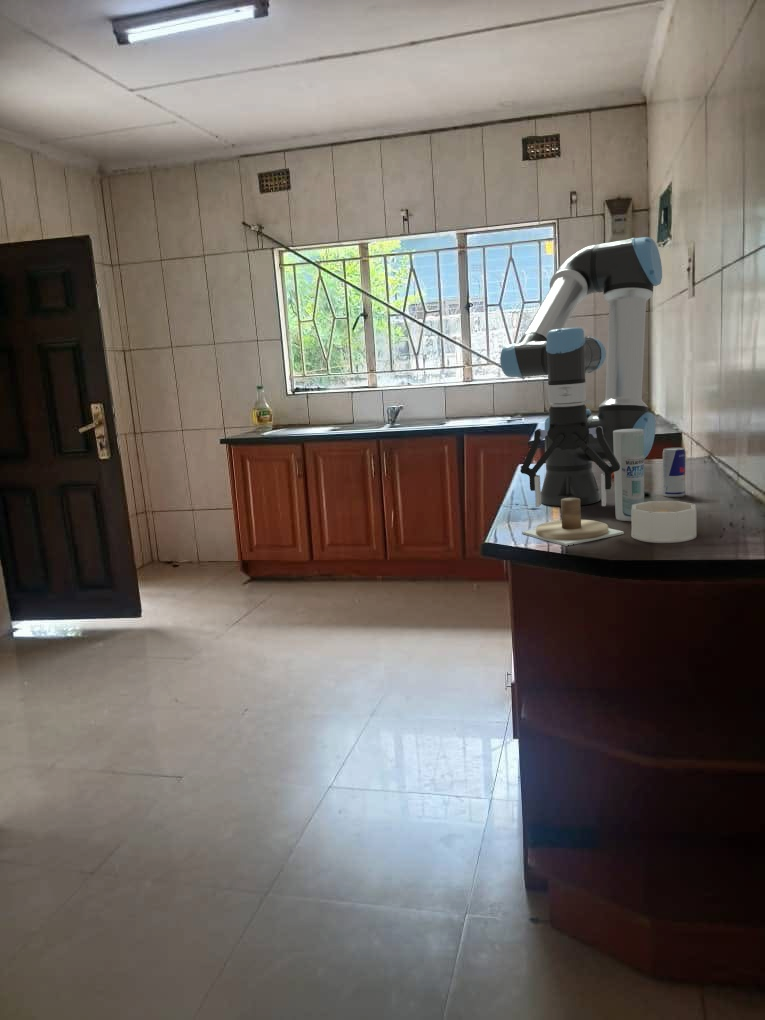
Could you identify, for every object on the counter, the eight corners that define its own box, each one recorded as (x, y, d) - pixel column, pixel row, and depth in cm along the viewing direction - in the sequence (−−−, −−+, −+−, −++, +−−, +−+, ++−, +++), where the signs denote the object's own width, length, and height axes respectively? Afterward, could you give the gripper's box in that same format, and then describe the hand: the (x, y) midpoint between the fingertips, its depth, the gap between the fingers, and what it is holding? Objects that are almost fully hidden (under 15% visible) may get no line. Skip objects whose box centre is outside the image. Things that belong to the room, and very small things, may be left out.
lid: (521, 531, 163) (520, 500, 162) (576, 520, 169) (575, 490, 168) (565, 543, 150) (564, 509, 149) (623, 531, 156) (623, 498, 155)
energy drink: (687, 496, 188) (687, 449, 186) (665, 497, 189) (664, 450, 187) (683, 493, 194) (682, 446, 191) (661, 494, 195) (660, 448, 192)
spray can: (634, 513, 174) (632, 428, 170) (651, 518, 168) (649, 429, 164) (609, 517, 172) (607, 430, 169) (625, 522, 166) (623, 432, 163)
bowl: (618, 535, 155) (617, 507, 154) (663, 525, 160) (663, 498, 159) (663, 546, 144) (663, 515, 143) (710, 535, 149) (710, 506, 148)
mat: (522, 533, 164) (521, 531, 163) (576, 522, 170) (576, 520, 170) (566, 546, 150) (566, 543, 150) (623, 533, 156) (623, 531, 156)
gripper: (504, 409, 156) (509, 509, 160) (630, 402, 147) (632, 508, 151) (510, 406, 162) (515, 502, 166) (631, 399, 154) (633, 500, 158)
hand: (570, 505), depth 159 cm, fingers open, 13 cm apart
